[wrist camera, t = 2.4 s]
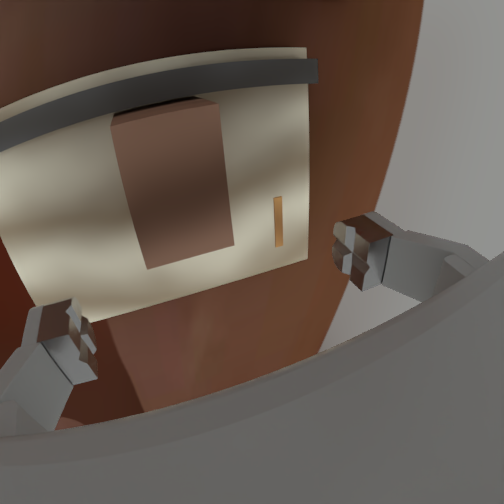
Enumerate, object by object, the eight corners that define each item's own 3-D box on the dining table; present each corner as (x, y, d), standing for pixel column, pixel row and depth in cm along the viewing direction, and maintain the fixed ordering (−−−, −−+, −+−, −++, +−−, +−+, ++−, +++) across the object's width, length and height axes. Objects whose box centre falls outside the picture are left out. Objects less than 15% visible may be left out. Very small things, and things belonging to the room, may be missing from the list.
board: (-23, 121, 12) (-51, 133, 9) (290, 48, 18) (324, 47, 15) (55, 315, 21) (50, 352, 18) (295, 246, 27) (320, 272, 24)
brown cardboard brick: (114, 113, 15) (109, 126, 11) (194, 95, 16) (218, 103, 12) (139, 224, 19) (147, 269, 15) (208, 206, 20) (234, 245, 16)
